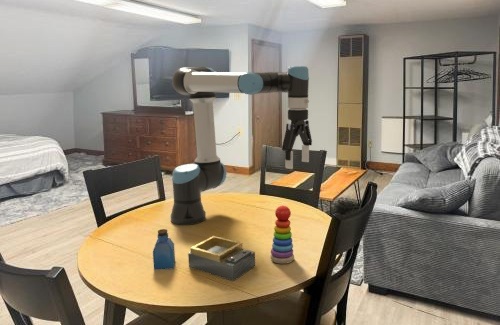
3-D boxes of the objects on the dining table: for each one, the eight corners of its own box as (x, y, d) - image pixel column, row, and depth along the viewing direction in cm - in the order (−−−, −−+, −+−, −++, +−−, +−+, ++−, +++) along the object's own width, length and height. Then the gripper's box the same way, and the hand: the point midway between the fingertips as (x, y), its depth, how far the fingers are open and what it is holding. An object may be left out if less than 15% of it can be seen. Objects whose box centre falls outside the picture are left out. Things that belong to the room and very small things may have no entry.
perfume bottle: (156, 261, 142) (154, 227, 140) (175, 260, 142) (173, 227, 140) (154, 269, 136) (151, 234, 133) (173, 268, 136) (171, 233, 134)
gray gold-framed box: (188, 267, 137) (187, 247, 136) (212, 254, 147) (211, 235, 145) (233, 281, 127) (232, 259, 126) (255, 266, 137) (254, 246, 136)
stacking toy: (293, 265, 137) (293, 210, 133) (269, 264, 138) (268, 209, 135) (295, 255, 145) (295, 203, 141) (271, 254, 146) (271, 202, 142)
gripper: (291, 112, 143) (290, 172, 148) (321, 106, 164) (320, 160, 168) (272, 111, 147) (272, 170, 152) (303, 106, 168) (303, 158, 172)
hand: (297, 165), depth 160 cm, fingers open, 13 cm apart
